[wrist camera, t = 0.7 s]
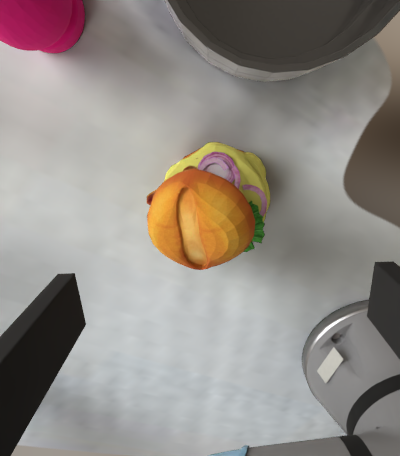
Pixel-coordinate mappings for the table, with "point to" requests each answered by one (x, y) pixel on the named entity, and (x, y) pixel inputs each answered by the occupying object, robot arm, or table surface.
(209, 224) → the cheeseburger
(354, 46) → the bowl
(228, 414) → the table surface
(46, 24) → the pepper mill
